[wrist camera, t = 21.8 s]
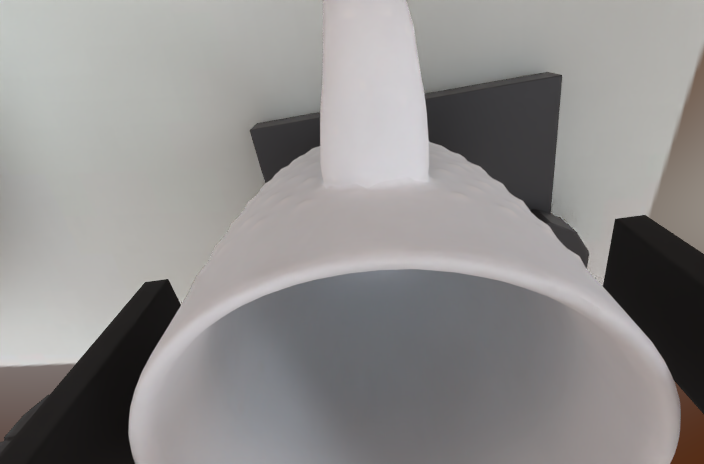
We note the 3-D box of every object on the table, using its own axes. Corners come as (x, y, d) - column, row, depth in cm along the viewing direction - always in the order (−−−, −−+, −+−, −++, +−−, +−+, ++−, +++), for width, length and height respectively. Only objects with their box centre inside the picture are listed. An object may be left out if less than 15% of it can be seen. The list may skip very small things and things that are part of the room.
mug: (220, 12, 15) (-218, -47, 4) (497, -20, 14) (1044, -215, 3) (286, 304, 22) (209, 600, 11) (475, 290, 21) (613, 590, 10)
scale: (576, 66, 17) (616, 73, 15) (555, 275, 23) (581, 308, 20) (256, 123, 19) (239, 138, 16) (309, 307, 24) (303, 341, 21)
